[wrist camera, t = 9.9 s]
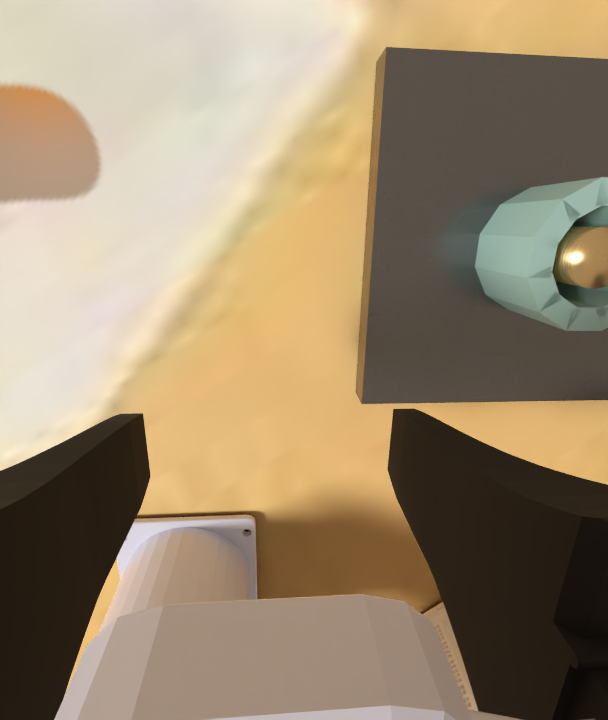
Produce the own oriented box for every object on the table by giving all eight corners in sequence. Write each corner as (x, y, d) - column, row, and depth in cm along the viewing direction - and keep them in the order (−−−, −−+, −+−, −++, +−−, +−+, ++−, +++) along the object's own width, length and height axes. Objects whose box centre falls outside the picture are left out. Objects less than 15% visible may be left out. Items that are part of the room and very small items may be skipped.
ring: (604, 274, 19) (686, 286, 15) (499, 329, 20) (554, 355, 16) (573, 163, 17) (657, 146, 14) (459, 227, 18) (509, 228, 14)
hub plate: (616, 388, 23) (718, 437, 18) (355, 392, 22) (382, 444, 16) (705, 78, 18) (881, 19, 13) (376, 62, 17) (423, -11, 12)
